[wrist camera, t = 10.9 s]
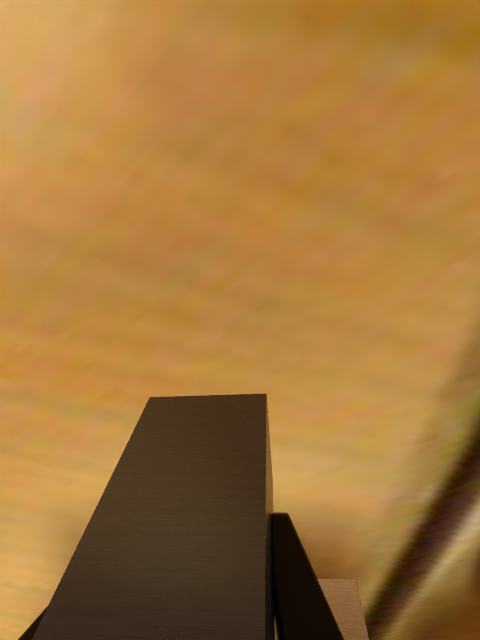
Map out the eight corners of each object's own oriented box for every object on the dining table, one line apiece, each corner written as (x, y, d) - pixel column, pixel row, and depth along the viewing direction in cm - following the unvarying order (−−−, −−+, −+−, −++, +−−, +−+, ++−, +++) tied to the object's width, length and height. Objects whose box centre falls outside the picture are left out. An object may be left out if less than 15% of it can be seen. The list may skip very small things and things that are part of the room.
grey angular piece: (369, 390, 9) (541, 786, 3) (354, 606, 12) (421, 958, 7) (58, 400, 9) (-224, 730, 4) (131, 599, 13) (35, 911, 8)
